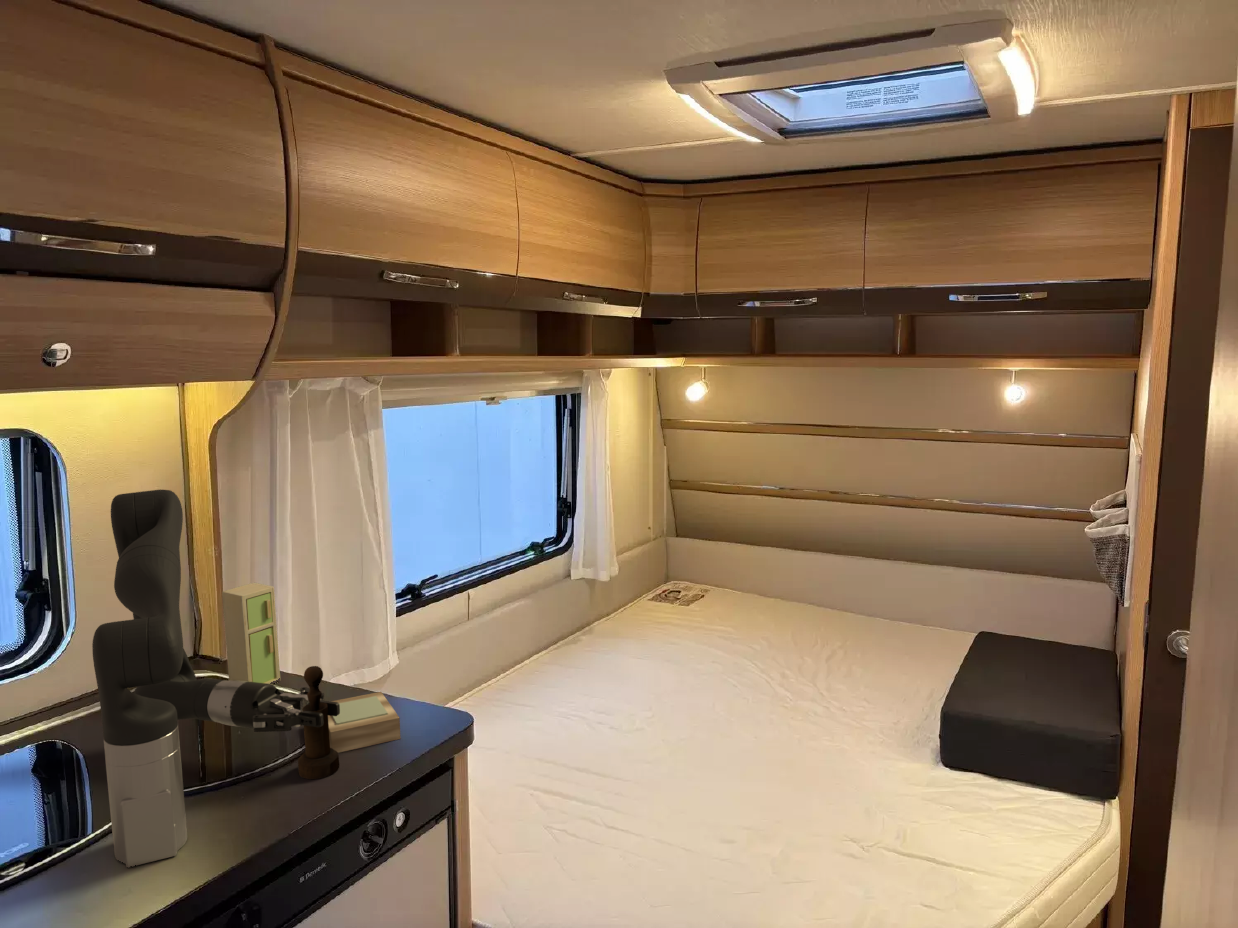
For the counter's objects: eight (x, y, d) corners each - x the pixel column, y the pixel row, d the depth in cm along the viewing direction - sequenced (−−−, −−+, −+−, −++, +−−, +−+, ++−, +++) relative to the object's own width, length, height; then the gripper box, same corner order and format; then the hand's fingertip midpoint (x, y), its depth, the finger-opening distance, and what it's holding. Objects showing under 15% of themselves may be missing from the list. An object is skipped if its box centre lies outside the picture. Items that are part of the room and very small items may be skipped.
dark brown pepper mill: (291, 769, 147) (285, 667, 145) (327, 756, 152) (322, 657, 150) (309, 783, 143) (303, 677, 140) (346, 769, 147) (341, 666, 145)
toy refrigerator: (250, 695, 180) (243, 595, 177) (228, 688, 184) (220, 590, 181) (283, 682, 187) (277, 586, 184) (261, 676, 190) (254, 581, 188)
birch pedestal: (400, 738, 159) (399, 716, 158) (332, 753, 153) (330, 730, 153) (382, 711, 171) (381, 690, 170) (317, 724, 165) (316, 702, 165)
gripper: (212, 698, 143) (302, 710, 138) (270, 668, 156) (354, 677, 151) (215, 742, 144) (305, 755, 139) (272, 708, 157) (356, 718, 152)
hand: (330, 714), depth 145 cm, fingers closed on dark brown pepper mill, 4 cm apart
